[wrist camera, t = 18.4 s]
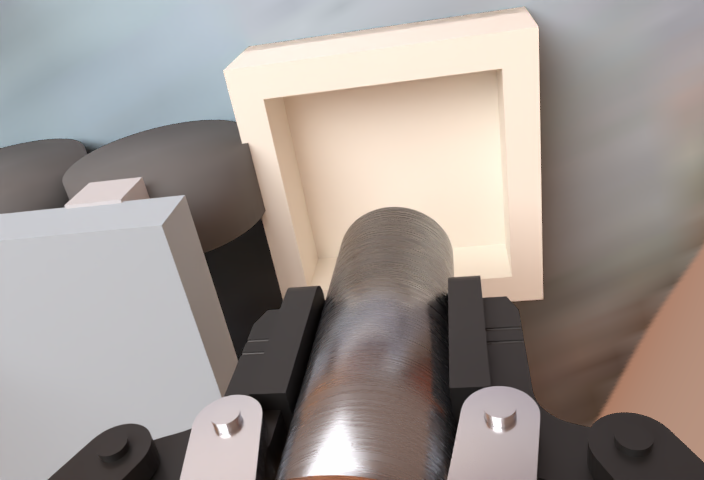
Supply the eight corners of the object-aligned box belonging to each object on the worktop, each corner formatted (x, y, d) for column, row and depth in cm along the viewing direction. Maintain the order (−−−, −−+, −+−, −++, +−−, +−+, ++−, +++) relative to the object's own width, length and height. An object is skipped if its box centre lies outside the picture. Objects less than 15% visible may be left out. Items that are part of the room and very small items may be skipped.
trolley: (98, 410, 31) (-178, 853, 17) (-34, 139, 24) (-675, 506, 10) (336, 400, 29) (246, 897, 15) (267, 100, 22) (-22, 496, 8)
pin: (325, 325, 18) (218, 727, 10) (303, 185, 16) (141, 539, 7) (481, 323, 17) (518, 755, 9) (480, 176, 15) (527, 557, 7)
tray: (302, 271, 26) (287, 315, 23) (248, 46, 21) (223, 70, 19) (531, 253, 24) (543, 299, 21) (524, 6, 20) (538, 26, 17)
